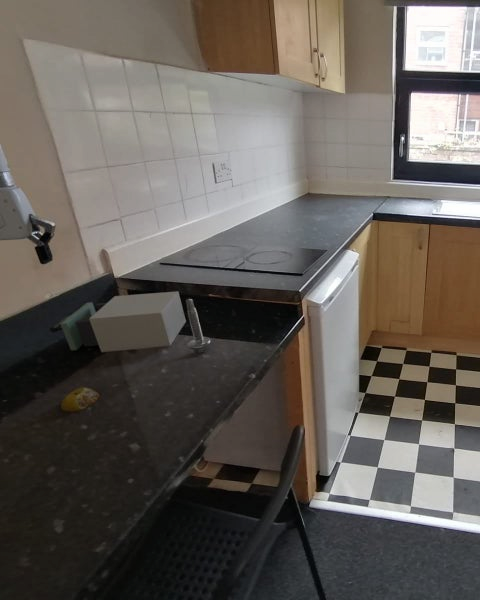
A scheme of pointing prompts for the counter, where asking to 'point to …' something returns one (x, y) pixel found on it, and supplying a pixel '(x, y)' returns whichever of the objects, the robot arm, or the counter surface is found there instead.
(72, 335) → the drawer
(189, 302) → the screw
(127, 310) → the pale grey box
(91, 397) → the fruit
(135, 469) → the counter surface
